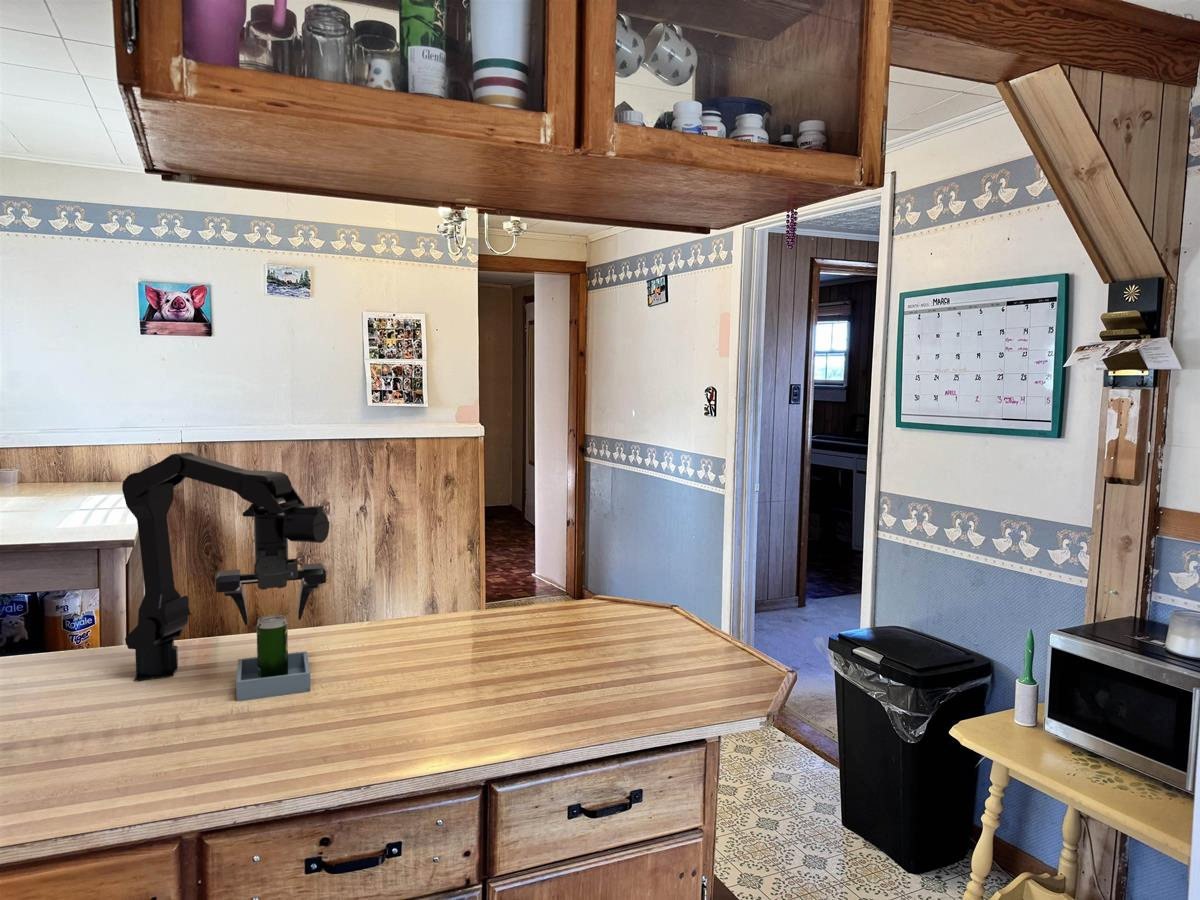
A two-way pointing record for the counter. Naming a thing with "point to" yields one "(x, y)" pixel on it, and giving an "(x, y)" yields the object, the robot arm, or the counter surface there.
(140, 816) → the counter surface
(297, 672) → the box
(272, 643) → the beer can
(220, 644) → the counter surface
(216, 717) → the counter surface
